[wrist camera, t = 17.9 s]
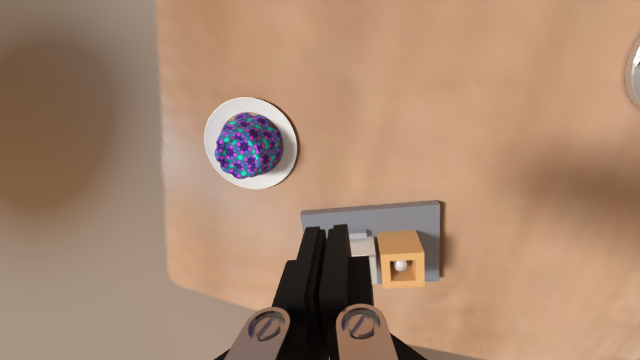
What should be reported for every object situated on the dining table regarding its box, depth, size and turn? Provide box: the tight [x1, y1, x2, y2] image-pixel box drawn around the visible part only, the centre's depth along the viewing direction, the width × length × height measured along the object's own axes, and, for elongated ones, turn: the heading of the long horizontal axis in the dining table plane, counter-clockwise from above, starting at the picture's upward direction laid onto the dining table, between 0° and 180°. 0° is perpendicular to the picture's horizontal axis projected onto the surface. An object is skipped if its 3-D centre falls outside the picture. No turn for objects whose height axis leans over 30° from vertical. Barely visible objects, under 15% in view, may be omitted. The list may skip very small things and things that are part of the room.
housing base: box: [301, 200, 440, 284], centre depth 40 cm, size 18×12×5 cm, turn 98°
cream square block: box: [350, 237, 378, 284], centre depth 39 cm, size 4×4×5 cm
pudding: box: [204, 97, 297, 189], centre depth 36 cm, size 12×12×5 cm
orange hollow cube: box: [377, 230, 425, 288], centre depth 38 cm, size 5×5×5 cm
